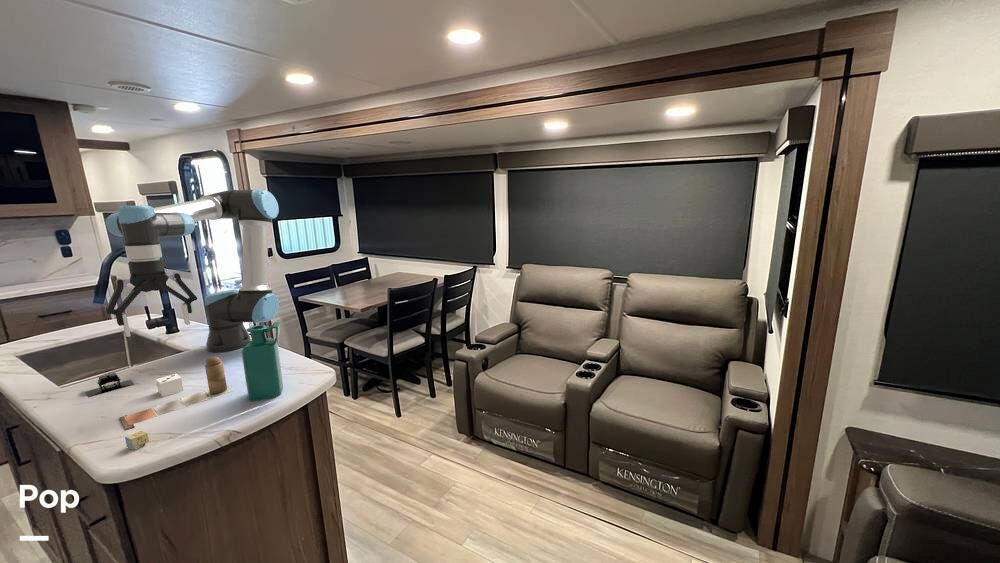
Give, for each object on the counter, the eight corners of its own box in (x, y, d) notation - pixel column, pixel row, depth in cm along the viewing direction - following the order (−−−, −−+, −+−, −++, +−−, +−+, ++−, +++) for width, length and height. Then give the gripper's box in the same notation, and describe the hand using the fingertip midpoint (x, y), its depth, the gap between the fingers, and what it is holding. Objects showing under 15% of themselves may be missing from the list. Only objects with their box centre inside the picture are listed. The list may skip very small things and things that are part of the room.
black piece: (82, 401, 114) (79, 386, 113) (78, 394, 118) (75, 380, 117) (141, 385, 124) (138, 371, 123) (135, 379, 129) (132, 365, 128)
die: (179, 388, 121) (176, 373, 120) (183, 392, 118) (181, 377, 117) (158, 394, 117) (155, 379, 116) (163, 399, 114) (159, 383, 113)
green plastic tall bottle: (247, 404, 110) (236, 332, 106) (253, 391, 118) (243, 324, 113) (285, 397, 114) (276, 327, 109) (288, 385, 121) (280, 320, 117)
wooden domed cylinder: (224, 386, 120) (218, 353, 118) (229, 390, 117) (223, 356, 115) (207, 391, 117) (201, 357, 114) (212, 395, 114) (206, 360, 112)
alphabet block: (126, 448, 90) (124, 436, 90) (143, 440, 93) (140, 429, 93) (133, 451, 89) (131, 439, 89) (149, 443, 92) (147, 432, 91)
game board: (226, 384, 122) (226, 382, 122) (237, 392, 117) (236, 390, 117) (119, 418, 103) (119, 416, 103) (126, 429, 98) (125, 427, 98)
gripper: (194, 254, 121) (205, 317, 125) (80, 263, 102) (97, 338, 106) (202, 255, 117) (212, 321, 121) (84, 266, 97) (101, 343, 101)
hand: (159, 329), depth 113 cm, fingers open, 13 cm apart
